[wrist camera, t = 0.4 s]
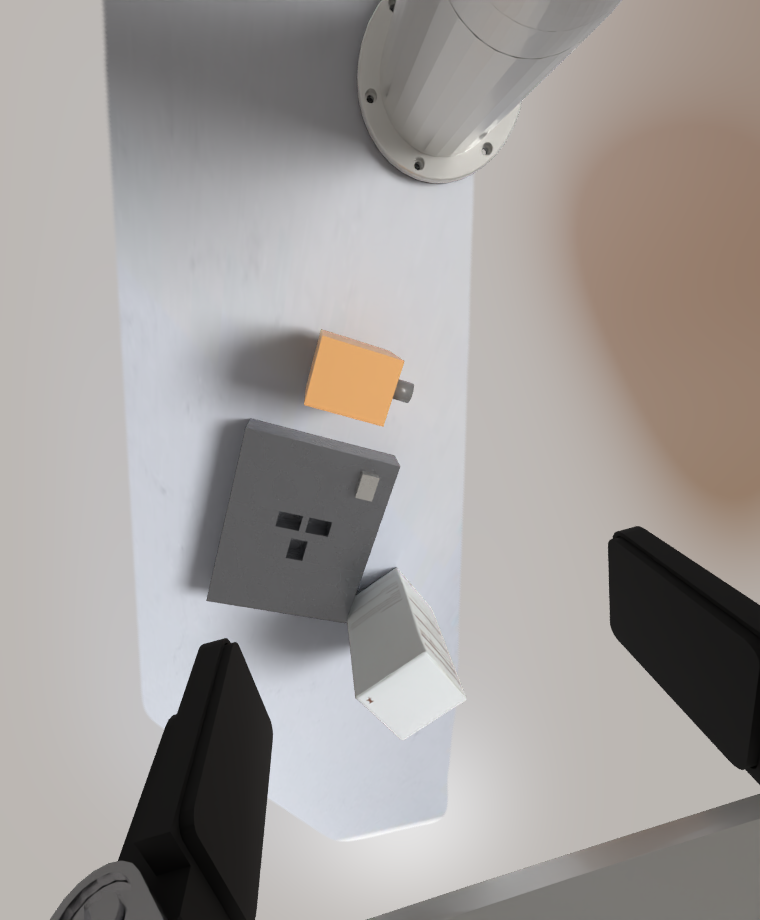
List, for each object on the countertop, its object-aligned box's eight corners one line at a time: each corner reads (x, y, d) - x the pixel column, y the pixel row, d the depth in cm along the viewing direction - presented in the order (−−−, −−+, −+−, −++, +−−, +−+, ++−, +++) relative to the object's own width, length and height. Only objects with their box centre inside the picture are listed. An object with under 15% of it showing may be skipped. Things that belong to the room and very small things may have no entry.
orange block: (406, 355, 39) (430, 369, 31) (389, 407, 41) (408, 433, 33) (320, 328, 38) (322, 335, 29) (306, 383, 39) (303, 404, 31)
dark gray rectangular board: (250, 418, 39) (244, 429, 36) (394, 455, 43) (401, 469, 39) (213, 582, 45) (204, 606, 41) (344, 604, 48) (346, 628, 44)
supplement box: (380, 641, 50) (400, 745, 39) (343, 601, 48) (352, 699, 36) (433, 607, 50) (469, 701, 38) (398, 564, 47) (425, 651, 35)
